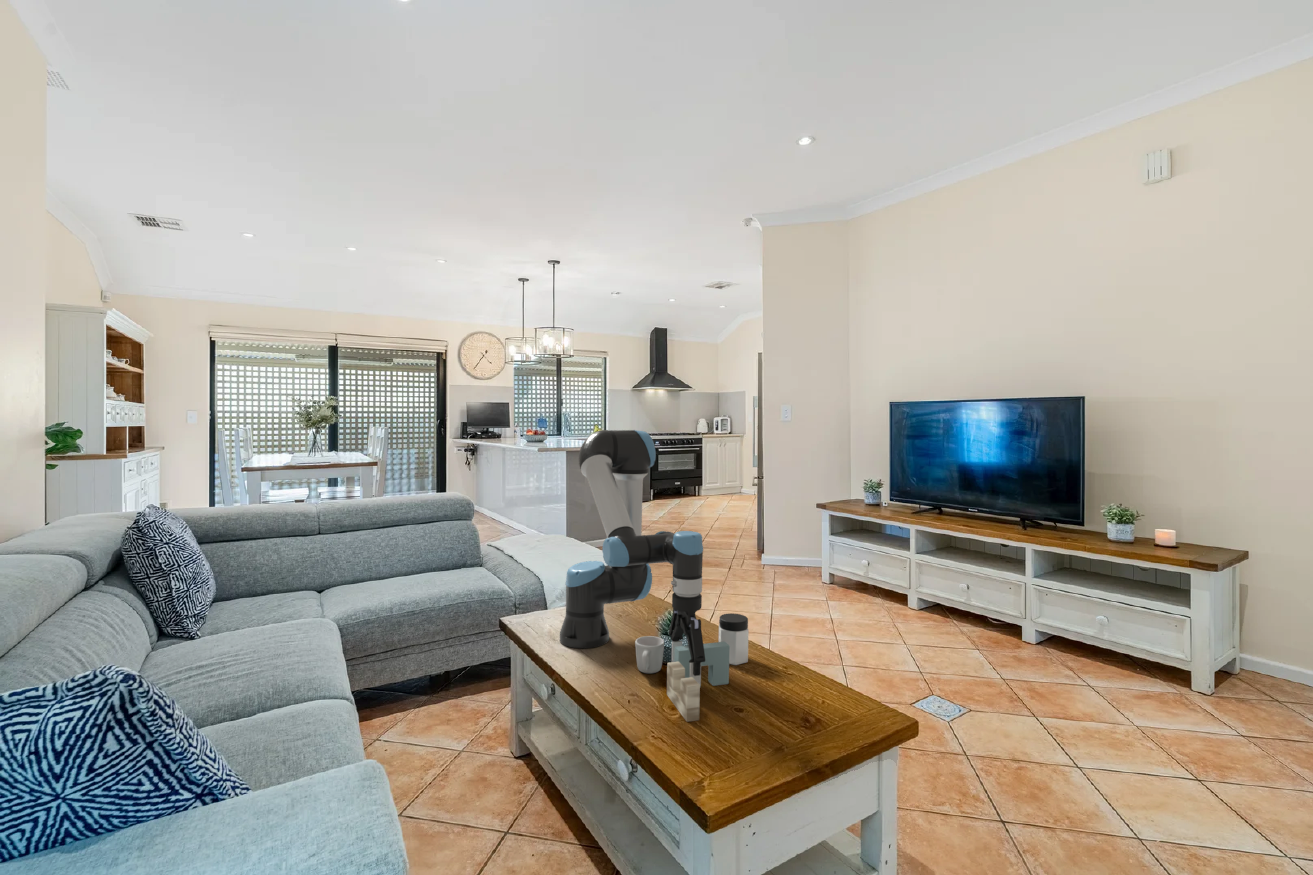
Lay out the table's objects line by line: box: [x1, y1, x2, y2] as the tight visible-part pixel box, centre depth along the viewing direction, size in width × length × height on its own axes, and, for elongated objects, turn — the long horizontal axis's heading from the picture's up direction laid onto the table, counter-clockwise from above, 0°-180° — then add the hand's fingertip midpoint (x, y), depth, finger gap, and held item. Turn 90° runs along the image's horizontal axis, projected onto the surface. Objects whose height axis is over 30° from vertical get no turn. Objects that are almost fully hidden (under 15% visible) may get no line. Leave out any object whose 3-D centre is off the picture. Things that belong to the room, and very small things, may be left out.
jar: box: [718, 613, 749, 666], centre depth 172 cm, size 9×8×12 cm
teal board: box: [674, 641, 730, 687], centre depth 155 cm, size 3×14×10 cm, turn 108°
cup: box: [634, 635, 665, 674], centre depth 162 cm, size 11×8×8 cm
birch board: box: [666, 661, 701, 723], centre depth 142 cm, size 14×3×8 cm, turn 18°
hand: (685, 676), depth 153 cm, fingers open, 12 cm apart
